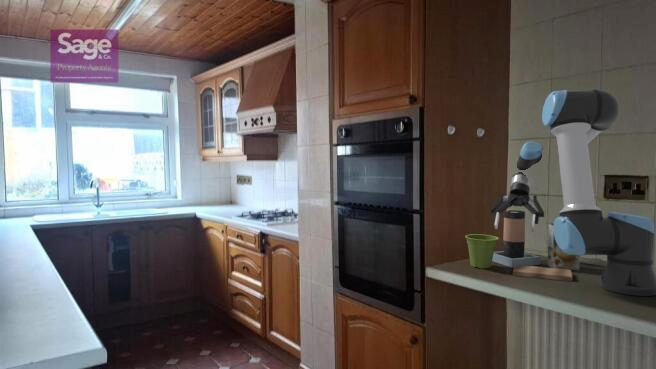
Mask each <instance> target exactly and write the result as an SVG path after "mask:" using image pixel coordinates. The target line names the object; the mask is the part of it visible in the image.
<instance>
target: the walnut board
mask: <svg viewBox="0 0 656 369" xmlns="http://www.w3.org/2000/svg"><path fill="white" fill-rule="evenodd" d="M512 276H518V277H525V278H526V277H527V278H534V279H546V280H555V281H563V282H565V281H566V282H573V274H572V270H568V269H556V268H551V267H543V266H536V265H531V266H524V265H514V267H513V269H512Z"/></svg>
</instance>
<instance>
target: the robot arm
mask: <svg viewBox="0 0 656 369" xmlns="http://www.w3.org/2000/svg"><path fill="white" fill-rule="evenodd" d="M541 112H542V114H541V119H542V124H543V125H544V126H545V127H547V128H549V130H550V134H551V135H553V136H555V137H556V143H557V145H556V146H558V156H559V165H558V166H559V172H560V183H561V191H562V199H563V202H562V203H563V208H562V209H561V210H560V211H559V217H556V218H555V220H554V221H553V223H554V227H553V232H554V237H555V240H556V243H557V245H558V246H559V248H560V249H561V250H562V251H563V252H564V253H566V254H573V255H580V256H606V263H605V265H604V267H603V270H602V272H601V275H600V277H599V286H600V287H601V288H602V289H604V290H606V291H610V292H613V293H616V294H617V293H618V294H621V295H629V296H636V297H637V296H638V297H639V296H640V297H652V296H653V297H654V296H656V272H655V269H654V249H655V248H654V247H655V245H654V244H655V235H656V232H655V224H654V221H653V219H652V218H649V217H647V216H641V215H636V214H628V213H623V212H622V213H621V212H612V211H610V212H608V214H607V217H606V216H605V217H604V216H603V210H602V208H600V207H599V206H597V205H596V200H595V192H594V186H593V185H594V183H593V176H592V175H593V174H592V167H591V161H590V152H589V150H590V149H589V143H591V142H592V141H593V139H595V138H596V137H597V136H598V135H600V133H601V132H604V131H605V132H606V131H607V130H609V129H611V127H613V126H614V125H615V123H616V122H617V121H618V119H619V117H620V114H621V105H620V102H619V100H618V99H617V97H616V96H615V95H614V94H612V93H611V92H609V91H607V90H604V89H579V90H578V89H576V90H575V89H574V90H571V89H569V90H567V89H564V90H554V91H552V92H550V94H548V95H547V98H546V99H545V101H544V105H543V107H542V111H541ZM542 147H543V146H542V144H540V142H535V141H533V140H530V141H527V142H525V143H524V144H523V145H522V147H521V149H520V152H519V155H518V158H517V159H518V160H517V159H516V160H517V168H518V169H519V170H526V169H528V168H530V167H531V166H532V165H534V164H536V163H538V162H539V161H540V160H541V158H542V150H543V148H542ZM521 174H522V175H521ZM529 187H530V188H529ZM530 190H531V184H530V183H529V180H528V178H527V177H526V175H524V174H523V173H522V172H516V173H515V174H514V175H513V174H512V177H511V183H510V190H509V195H504V194H503V193H502V194H501V195H499V196H500V197H499V199H497V201H496V202H495V203H494V204H493V205H492V206H491V208H490V209H489V211H490V215H493V216H492V217H493V218H492V220H493V222H494V224H493V226H494V229H495V230H498V226H499V221H500V214H502V213H504V211H506V210H507V209H508V208H511V207H520V208H521V207H524V208H525V209H527V210H528V211H529V212H530V213H531V215H532V221H531V232H534V233H535V228H536V225H538V224H539V221H540V220H539V219H540V218H544V217H545V212H544V209H543V208H542V206H541V205H540V203H539V201H538V198H537V195H533V196H530ZM530 201H531V203H533V205H534V206H535V207H533V206H532V204H530V203H529V202H530ZM504 202H505V203H504ZM535 208H536V209H535Z"/></svg>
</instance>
